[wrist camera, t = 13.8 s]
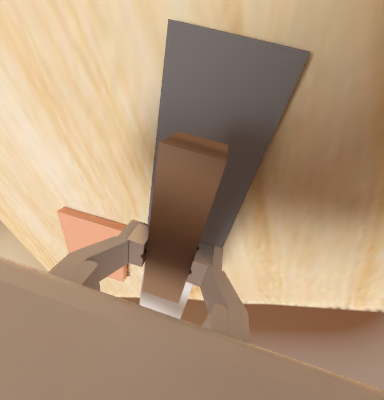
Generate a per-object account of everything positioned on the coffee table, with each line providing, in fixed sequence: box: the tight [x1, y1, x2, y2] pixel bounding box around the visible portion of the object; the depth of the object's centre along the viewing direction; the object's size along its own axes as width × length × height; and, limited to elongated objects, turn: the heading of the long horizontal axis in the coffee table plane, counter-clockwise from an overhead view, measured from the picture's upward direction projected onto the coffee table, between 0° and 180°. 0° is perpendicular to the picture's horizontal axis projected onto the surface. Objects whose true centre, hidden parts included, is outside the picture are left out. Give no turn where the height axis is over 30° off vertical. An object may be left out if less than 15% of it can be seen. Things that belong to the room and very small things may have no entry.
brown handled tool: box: [140, 131, 228, 319], centre depth 12 cm, size 16×4×3 cm, turn 167°
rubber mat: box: [148, 19, 310, 247], centre depth 17 cm, size 22×9×1 cm, turn 167°
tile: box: [57, 207, 127, 282], centre depth 25 cm, size 2×9×11 cm
